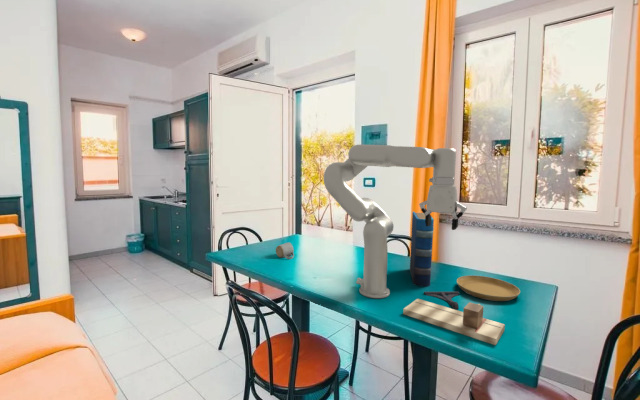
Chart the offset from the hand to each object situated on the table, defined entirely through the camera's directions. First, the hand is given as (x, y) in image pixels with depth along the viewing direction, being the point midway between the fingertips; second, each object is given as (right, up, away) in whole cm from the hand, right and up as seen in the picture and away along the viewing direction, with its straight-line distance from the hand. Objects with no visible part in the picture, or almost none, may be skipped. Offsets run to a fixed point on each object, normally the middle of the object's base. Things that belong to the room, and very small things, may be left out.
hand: (440, 227), depth 121 cm
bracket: (+6, -31, +7) cm, 32 cm away
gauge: (+6, -30, -14) cm, 34 cm away
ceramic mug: (-65, -23, +65) cm, 95 cm away
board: (0, -32, -10) cm, 33 cm away
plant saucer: (+26, -30, +17) cm, 43 cm away
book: (+3, -27, +33) cm, 43 cm away
